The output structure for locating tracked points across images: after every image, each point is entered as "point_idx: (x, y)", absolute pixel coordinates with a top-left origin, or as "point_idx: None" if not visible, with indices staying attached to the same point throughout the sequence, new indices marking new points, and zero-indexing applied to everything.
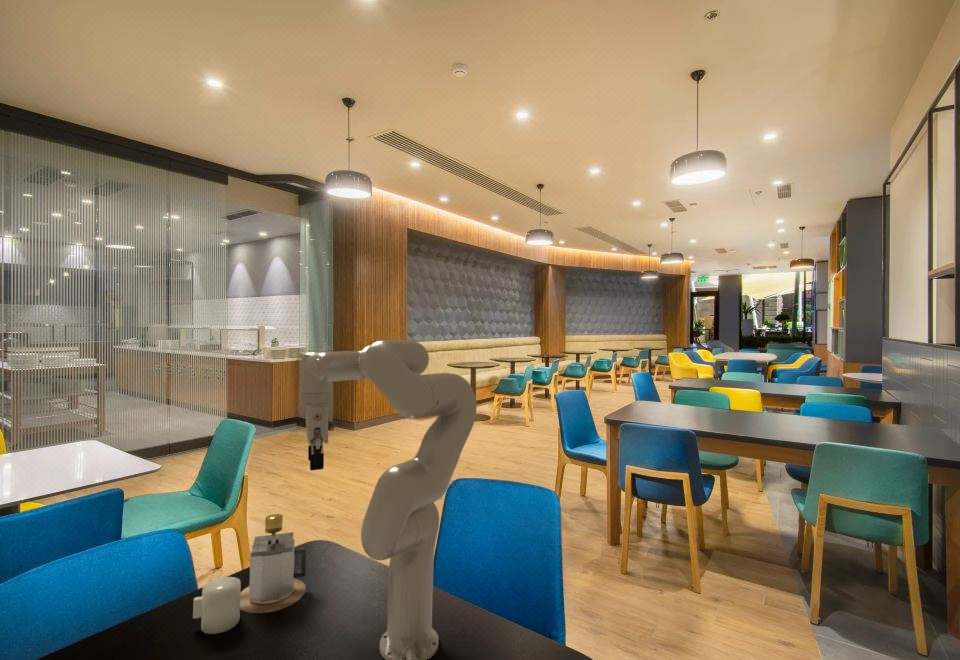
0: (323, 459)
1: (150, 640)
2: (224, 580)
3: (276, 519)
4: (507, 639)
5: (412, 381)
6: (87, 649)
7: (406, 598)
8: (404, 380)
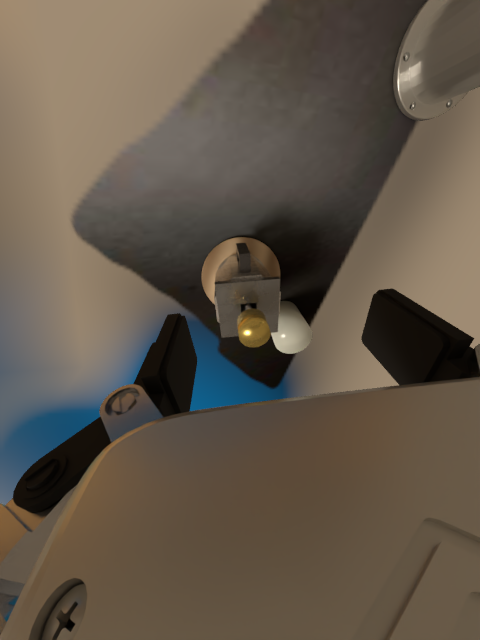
0: (430, 313)
1: (281, 357)
2: (282, 339)
3: (268, 329)
4: None
5: None
6: (277, 385)
7: None
8: None
